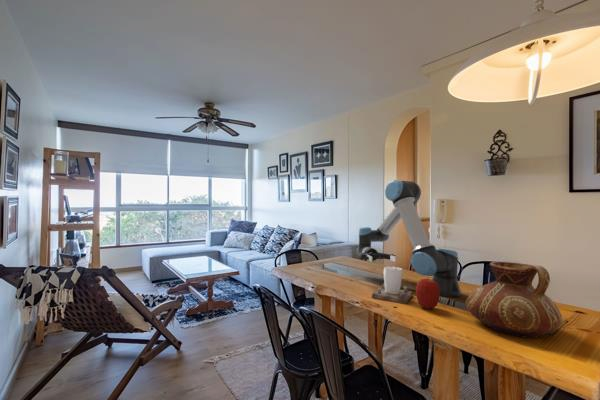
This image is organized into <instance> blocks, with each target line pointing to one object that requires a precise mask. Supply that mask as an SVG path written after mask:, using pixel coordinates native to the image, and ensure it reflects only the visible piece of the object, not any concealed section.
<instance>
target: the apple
mask: <svg viewBox="0 0 600 400" xmlns="http://www.w3.org/2000/svg"><path fill="white" fill-rule="evenodd" d="M415 296H416V299H417V302H418V305H420V307H422V309H426V310H427V309H428V310H429V309H430V310H431V309H434V308H435V307H437V305H438V303H439V301H440V296H441V295H440V289H439V286H438V284H437V283H436V282H435V281H433V280H432V278H422V279H420V280H418V282H417V284H416V287H415Z"/></svg>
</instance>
